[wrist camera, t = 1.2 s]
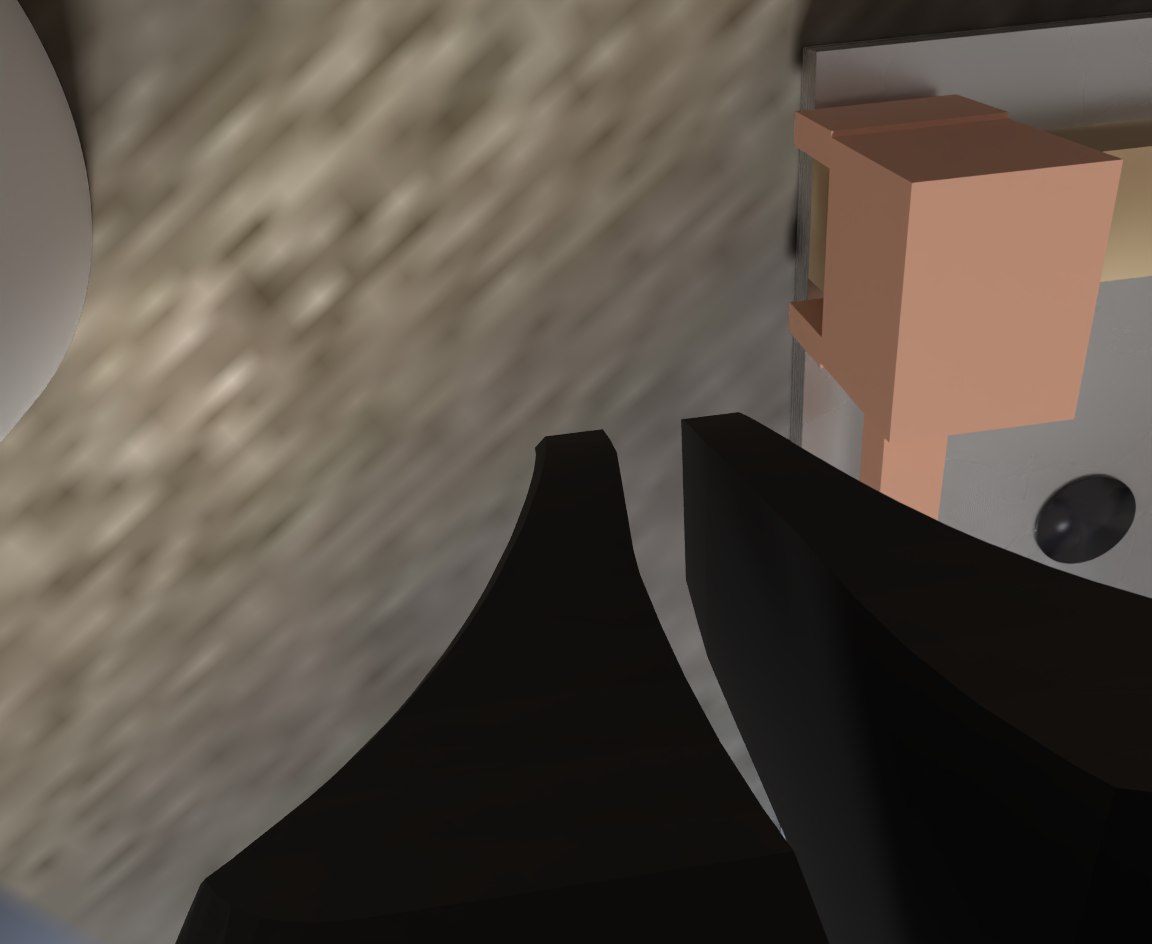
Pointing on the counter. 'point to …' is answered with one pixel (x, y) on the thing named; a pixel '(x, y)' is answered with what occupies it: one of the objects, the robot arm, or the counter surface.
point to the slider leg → (951, 276)
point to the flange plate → (1120, 324)
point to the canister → (37, 219)
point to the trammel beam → (1140, 218)
